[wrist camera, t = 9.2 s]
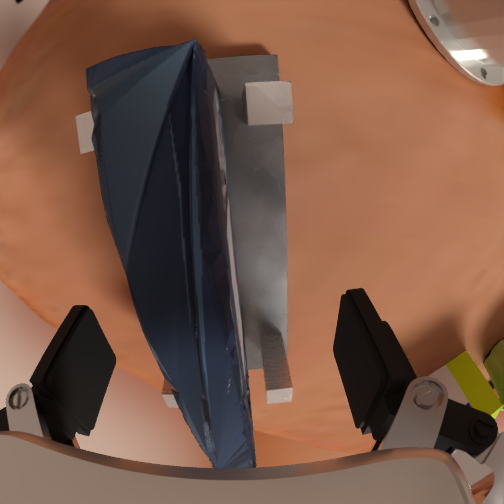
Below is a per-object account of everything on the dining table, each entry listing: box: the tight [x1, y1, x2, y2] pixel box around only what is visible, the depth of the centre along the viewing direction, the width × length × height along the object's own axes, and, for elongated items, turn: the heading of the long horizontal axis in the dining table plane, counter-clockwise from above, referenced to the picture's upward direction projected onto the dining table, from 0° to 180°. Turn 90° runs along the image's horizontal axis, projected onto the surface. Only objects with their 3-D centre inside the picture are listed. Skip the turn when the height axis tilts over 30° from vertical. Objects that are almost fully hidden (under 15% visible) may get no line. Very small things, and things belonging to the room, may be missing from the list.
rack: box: [76, 55, 294, 408], centre depth 15 cm, size 22×9×6 cm, turn 4°
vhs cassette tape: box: [86, 39, 256, 468], centre depth 12 cm, size 18×3×10 cm, turn 2°
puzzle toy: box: [429, 350, 502, 419], centre depth 25 cm, size 10×10×10 cm
